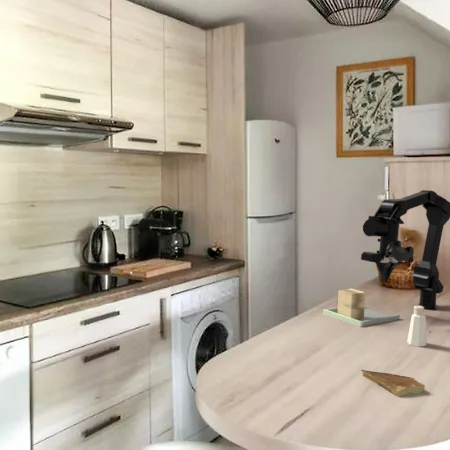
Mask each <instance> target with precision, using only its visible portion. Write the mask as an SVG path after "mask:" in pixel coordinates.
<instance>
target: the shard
mask: <svg viewBox="0 0 450 450" xmlns="http://www.w3.org/2000/svg"><path fill="white" fill-rule="evenodd" d="M360 371H361V372H362V377H363V378H365V379H368V380H370V381H371V382H374V383H375V384H377V385H379V386H381V387H382V388H384V389H385V390H387V391H389V392H391V393H392V394H393V395H395V396H397V397H401V396H406V395H410V394H420V393H419V392H421V393H422V392H423V391H424V389H425V387H426V386H425V384H424V383H422V382H420V381H418V380H416V379H415V377H410V376H405V375H398V374H395V373H387V372H379V371H372V370H364V369H361V370H360Z"/></svg>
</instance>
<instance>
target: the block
mask: <svg viewBox="0 0 450 450" xmlns="http://www.w3.org/2000/svg"><path fill="white" fill-rule="evenodd" d="M337 296H338V297H337V307H338V314H341V315H344V316H347V317H350V318H353V319H356V320H363V319H364V308H365V306H366V302H365V301H366V300H365V298H366V292H365V291H362V290H357V289H354V288H346V289H339V290H338V294H337ZM363 321H364V320H363Z"/></svg>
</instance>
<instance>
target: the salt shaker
mask: <svg viewBox="0 0 450 450" xmlns="http://www.w3.org/2000/svg"><path fill="white" fill-rule="evenodd" d="M424 310H425V308H424V307H423V306H418V305H414V306H413V314H411V318H410V322H409V330H408V334H407V340H406V341H407V342H406V343H407V344H408V345H410V346H413V347H426V346H427V344H428V341H427V340H428V339H427V321H426V319H427V318H426V315H425V314H424V312H425V311H424Z"/></svg>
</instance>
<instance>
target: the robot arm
mask: <svg viewBox="0 0 450 450" xmlns="http://www.w3.org/2000/svg"><path fill="white" fill-rule="evenodd" d="M420 206H422V207H423V208H424V209H425V212H426V213H425V216H426V218H427V222H428V226H427V234H426V238H425V242H424V243H425V244H424V247H423V248H424V249H423V253H422V259H421V262H420V263H419V264H418V265H415V266H414V268H413V274H412V281H413V285H414V289H415V290H419V303H418V304H417V306H423V307H424V310H425V309H426V310H434V311H436V310H437V309H438V307H439V305H438V304H437V294H441V293H443V292H444V287H445V286H444V285H443V283H442V282H441V281H440V279H439V278H440V277H439V276H440V271H439V269H438V266H437V261H438V256H439V250H440V246H441V245H440V244H441V239H442V236H443V235H442V234H443V230H444V226H445V225H446V224H447V223H448V221H450V201H449V200H447V199H446V198H444V197H442V196H441V195H439V194H438V193H436V192H435V191H434V190H430V189H429V190H428V189H427V190H425V189H423V190H420V191H419V192H415V193H412V194H410V195H407V196H405V197H401V198H390V199H389V198H387V199H383V200H382V201H381V204H380V205H379V207H378V208H377V210H376V212H375V213H374V214H373V215H368V219H367V220H365V221H364V223H363V225H362V231H363V233H364V235H365V236H367V237H376V238H377V237H380V238H377V242H378V243H379V250H378V249H377V250H376V252H373V251H363V252H362V253H361V255H360V260H361V261H365V262H371V263H375V266H376V267H377V269H378V271H379V274H380V278H381V280H382V282H383V283H388V282H389V279H390V276H391V274H392V273H393V271H394V269H395V268H396V267H397V266H399V265H401V262H405V263H413V262H414V253H415V248H414V247H412V246H406V247H405V246H404V247H403V246H402V242H401V240H399V232H400V225H404V224H405V222H404V221H403V220H402V218H401V217H402V216H404V215H406V214H407V213H408V211H409V210H412V209H414V208H417V207H420Z"/></svg>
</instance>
